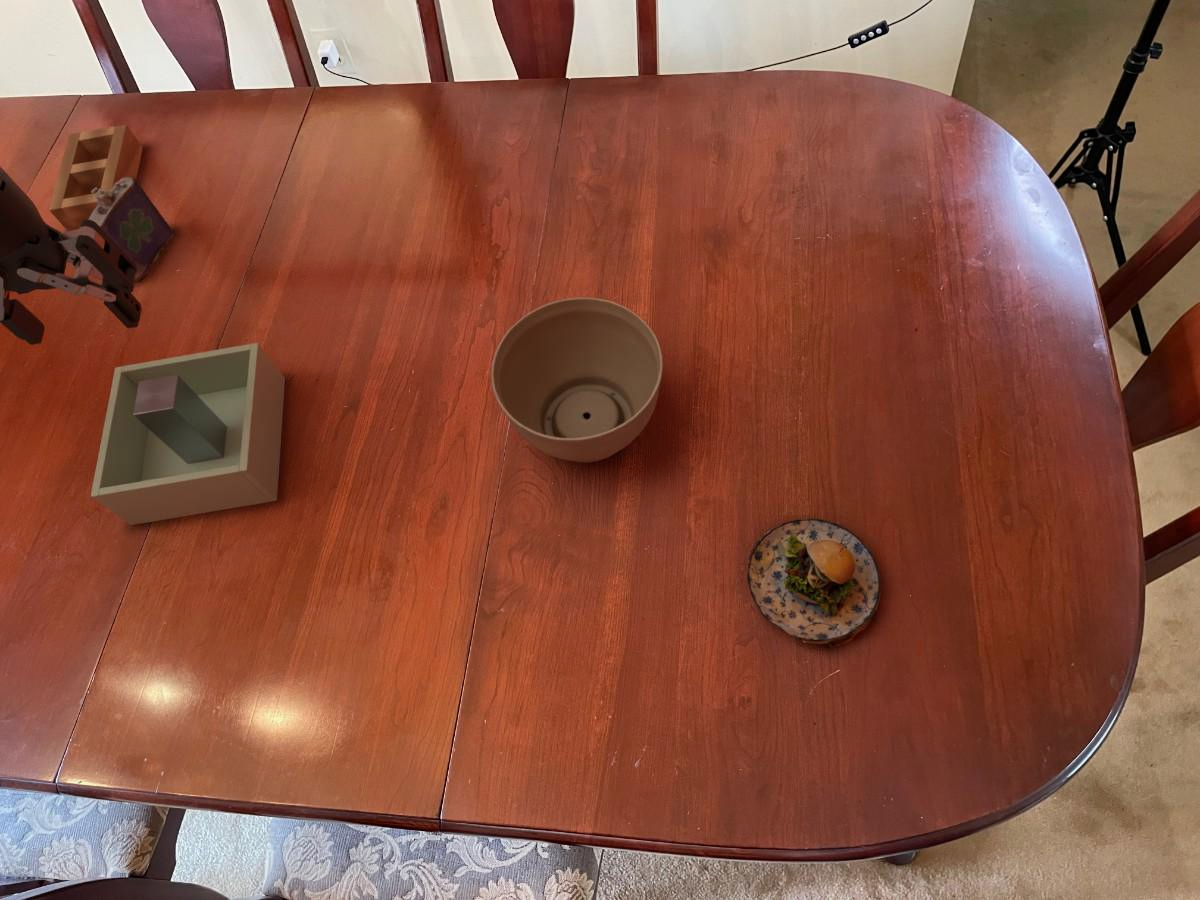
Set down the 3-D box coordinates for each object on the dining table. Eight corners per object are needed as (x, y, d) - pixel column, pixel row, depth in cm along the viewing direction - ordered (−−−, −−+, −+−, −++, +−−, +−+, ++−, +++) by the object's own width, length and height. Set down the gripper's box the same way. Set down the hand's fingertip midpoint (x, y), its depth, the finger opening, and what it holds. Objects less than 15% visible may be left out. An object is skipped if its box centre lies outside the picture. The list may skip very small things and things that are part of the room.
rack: (68, 232, 111) (48, 209, 108) (87, 157, 119) (69, 134, 115) (128, 221, 111) (109, 199, 108) (143, 147, 118) (126, 123, 115)
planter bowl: (550, 520, 83) (530, 468, 74) (490, 399, 91) (466, 338, 82) (694, 451, 85) (693, 392, 76) (624, 339, 93) (615, 273, 84)
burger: (737, 532, 81) (740, 497, 74) (862, 518, 80) (876, 482, 74) (758, 655, 75) (763, 630, 68) (893, 642, 74) (911, 614, 68)
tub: (130, 525, 88) (90, 496, 82) (150, 401, 96) (114, 367, 90) (277, 500, 88) (246, 470, 82) (285, 378, 96) (258, 342, 90)
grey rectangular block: (187, 464, 90) (132, 414, 82) (191, 432, 92) (138, 381, 84) (223, 457, 90) (173, 408, 81) (227, 426, 92) (177, 374, 83)
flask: (140, 284, 105) (85, 221, 96) (121, 280, 106) (65, 217, 97) (178, 230, 109) (130, 164, 100) (159, 226, 110) (109, 161, 101)
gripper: (-172, 243, 58) (-2, 377, 72) (31, 207, 57) (162, 349, 71) (-139, 167, 61) (17, 308, 75) (52, 133, 61) (173, 281, 75)
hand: (87, 328), depth 73 cm, fingers open, 8 cm apart
